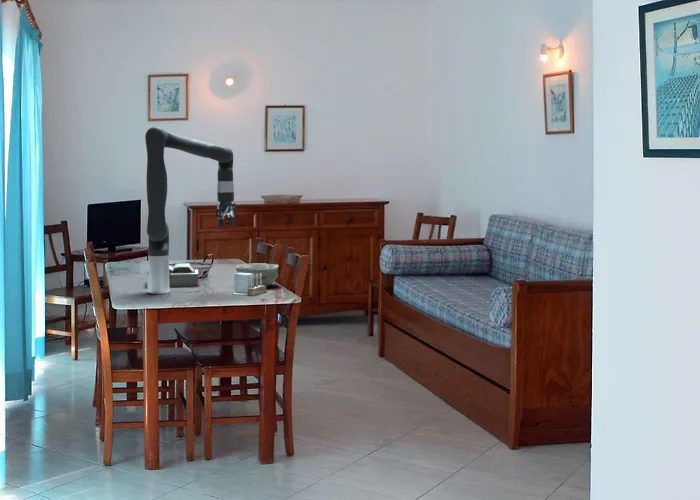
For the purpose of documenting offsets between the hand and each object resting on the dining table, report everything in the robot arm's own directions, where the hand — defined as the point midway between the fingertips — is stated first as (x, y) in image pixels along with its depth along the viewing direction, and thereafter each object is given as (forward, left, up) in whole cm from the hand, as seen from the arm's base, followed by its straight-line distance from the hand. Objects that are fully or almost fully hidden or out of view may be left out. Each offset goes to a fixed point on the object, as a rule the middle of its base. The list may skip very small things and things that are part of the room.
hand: (226, 226), depth 413 cm
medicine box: (+9, 0, -30) cm, 31 cm away
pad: (+10, 0, -30) cm, 32 cm away
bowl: (+5, +20, -30) cm, 37 cm away
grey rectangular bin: (-36, +10, -31) cm, 49 cm away
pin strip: (+16, 0, -30) cm, 34 cm away
